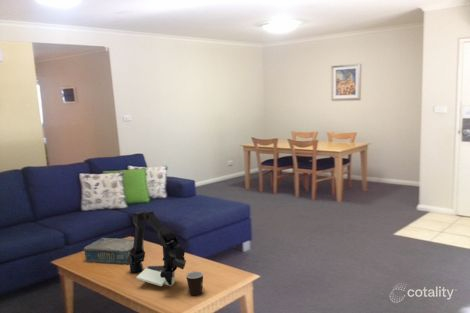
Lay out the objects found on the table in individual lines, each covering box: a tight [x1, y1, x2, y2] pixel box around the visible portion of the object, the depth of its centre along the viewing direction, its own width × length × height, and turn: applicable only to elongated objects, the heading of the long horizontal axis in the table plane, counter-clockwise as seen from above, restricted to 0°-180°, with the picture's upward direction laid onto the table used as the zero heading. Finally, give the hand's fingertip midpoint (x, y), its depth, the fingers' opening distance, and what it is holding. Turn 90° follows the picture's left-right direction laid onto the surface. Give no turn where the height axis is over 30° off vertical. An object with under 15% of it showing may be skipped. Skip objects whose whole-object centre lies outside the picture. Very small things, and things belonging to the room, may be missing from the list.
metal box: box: [83, 237, 145, 266], centre depth 276 cm, size 21×32×10 cm, turn 74°
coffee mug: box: [186, 270, 204, 297], centre depth 219 cm, size 12×9×10 cm
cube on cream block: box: [136, 267, 176, 287], centre depth 227 cm, size 19×10×4 cm, turn 71°
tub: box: [146, 264, 166, 272], centre depth 238 cm, size 14×9×6 cm, turn 87°
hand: (171, 283), depth 224 cm, fingers closed on cube on cream block, 4 cm apart
